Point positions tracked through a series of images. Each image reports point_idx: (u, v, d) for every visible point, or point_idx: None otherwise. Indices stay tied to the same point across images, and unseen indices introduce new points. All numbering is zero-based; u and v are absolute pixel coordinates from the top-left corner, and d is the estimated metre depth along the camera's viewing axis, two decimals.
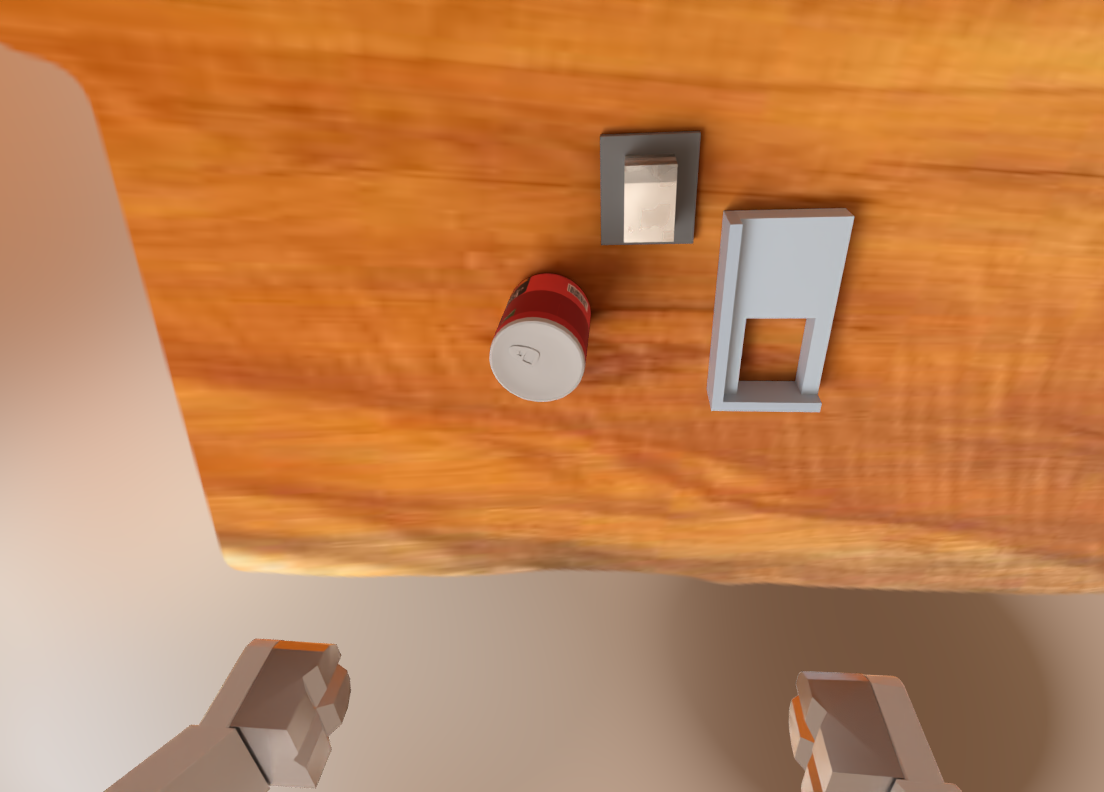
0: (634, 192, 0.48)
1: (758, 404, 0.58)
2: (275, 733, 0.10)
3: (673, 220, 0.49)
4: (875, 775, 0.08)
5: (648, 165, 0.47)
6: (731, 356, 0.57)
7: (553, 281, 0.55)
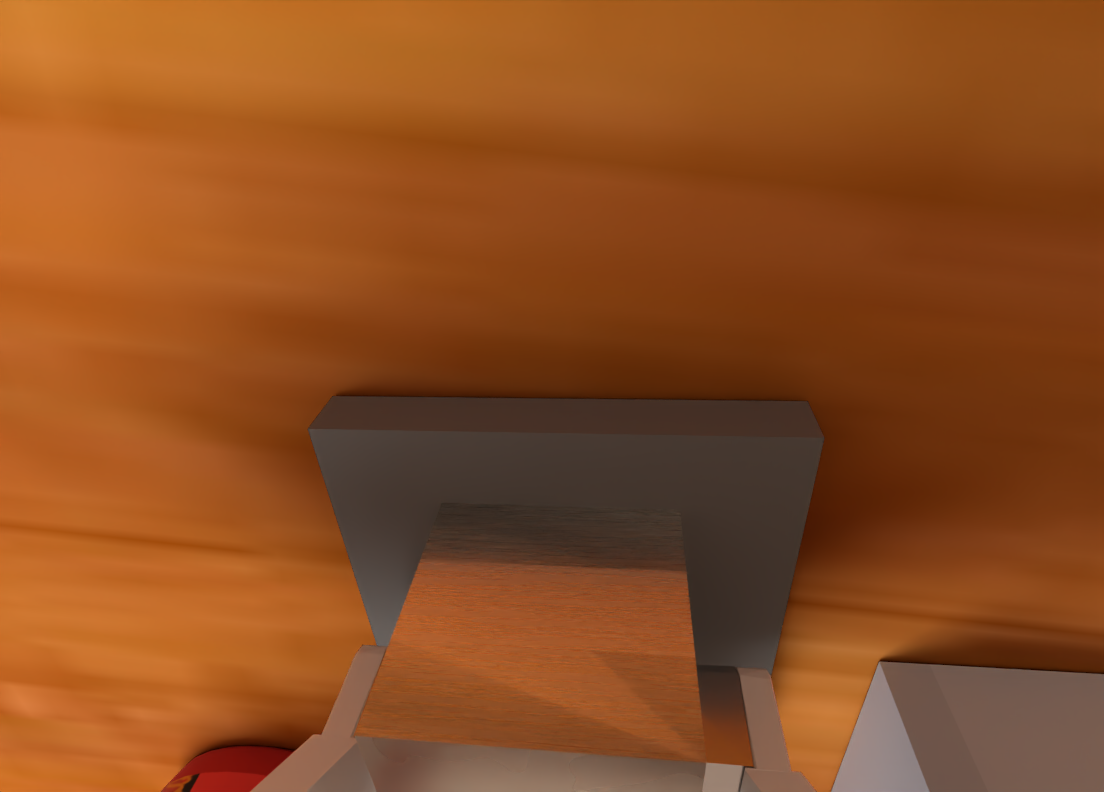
0: None
1: None
2: None
3: None
4: (725, 763, 0.09)
5: (509, 742, 0.07)
6: None
7: None
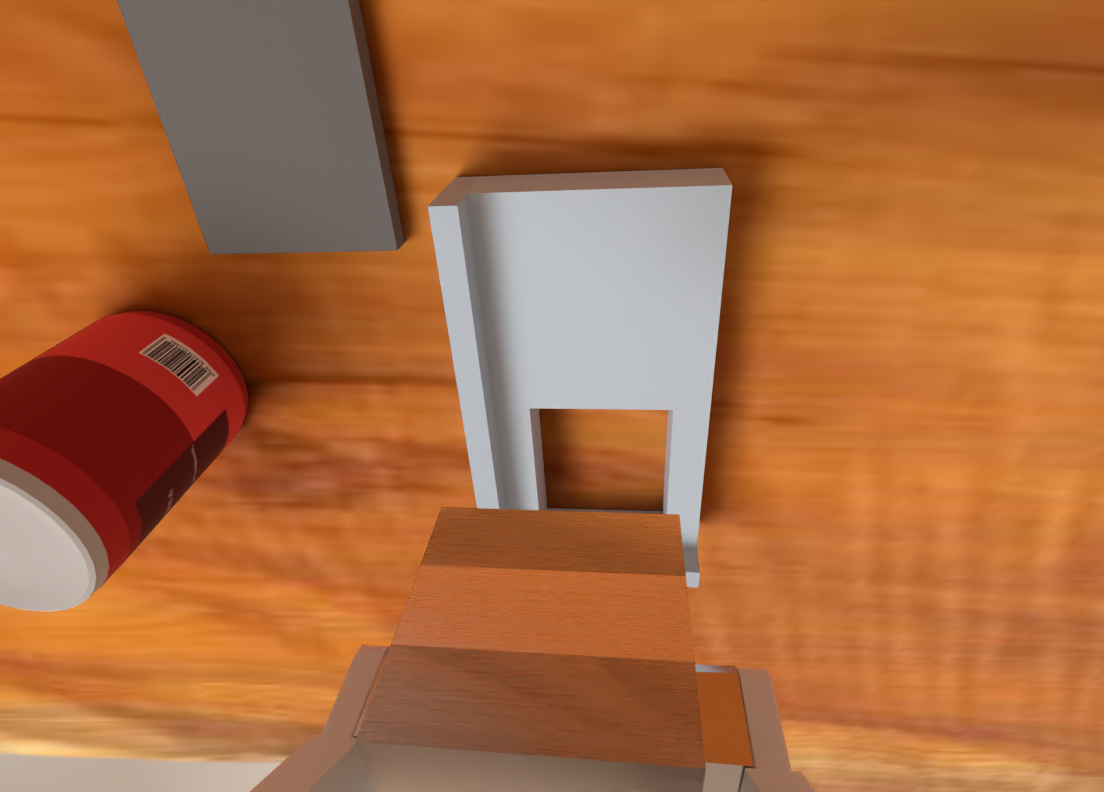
0: None
1: None
2: None
3: None
4: (725, 764, 0.09)
5: (509, 748, 0.07)
6: (515, 478, 0.28)
7: (120, 331, 0.26)
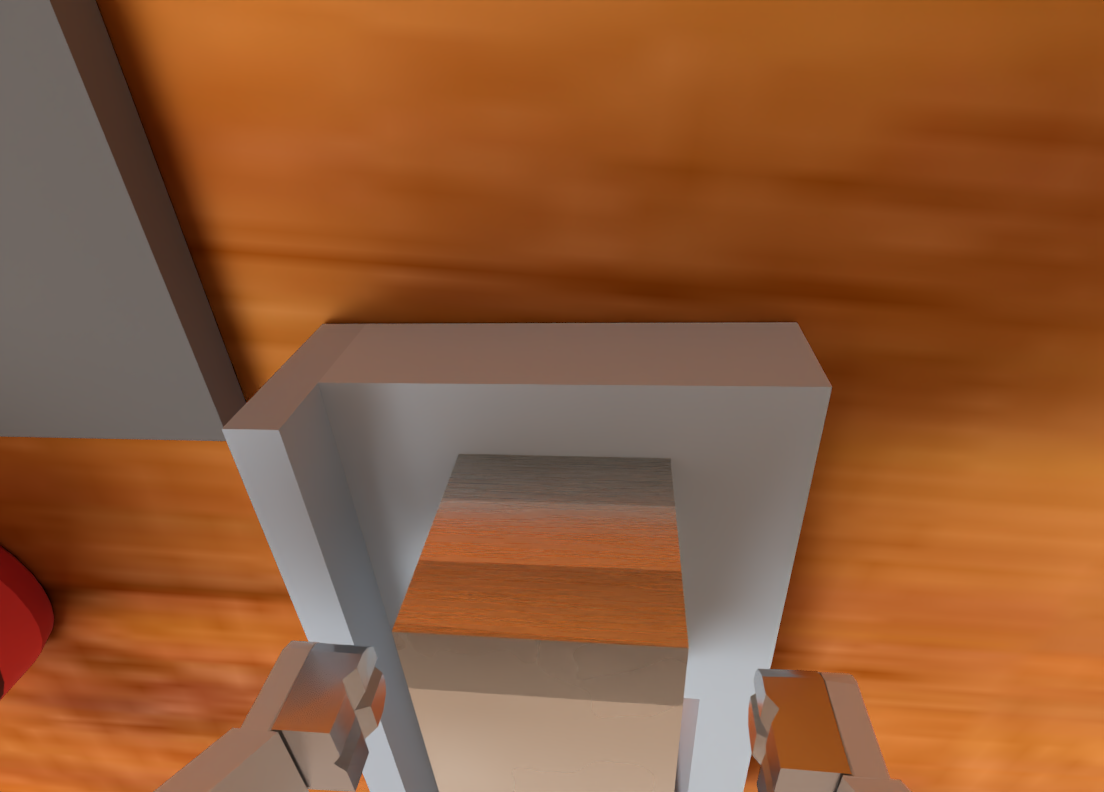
0: (466, 719, 0.09)
1: None
2: (318, 736, 0.09)
3: None
4: (822, 771, 0.08)
5: (523, 635, 0.08)
6: None
7: None
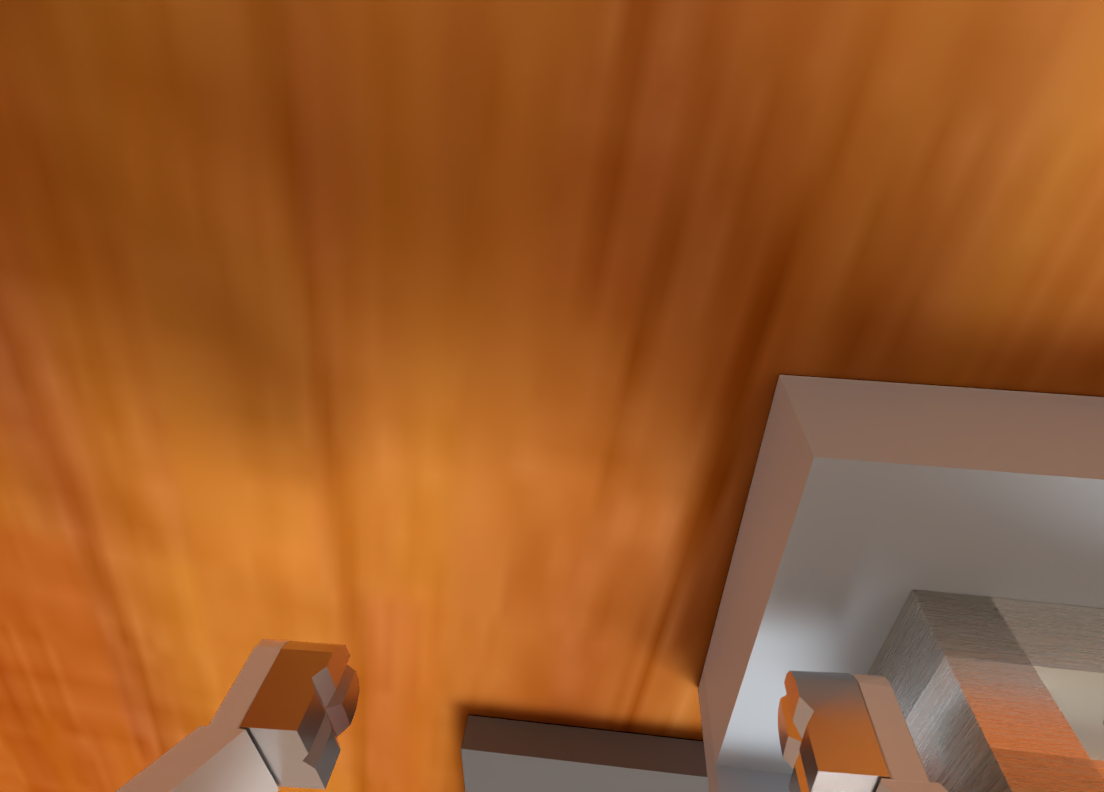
0: None
1: None
2: (285, 734, 0.10)
3: None
4: (860, 774, 0.08)
5: None
6: None
7: None
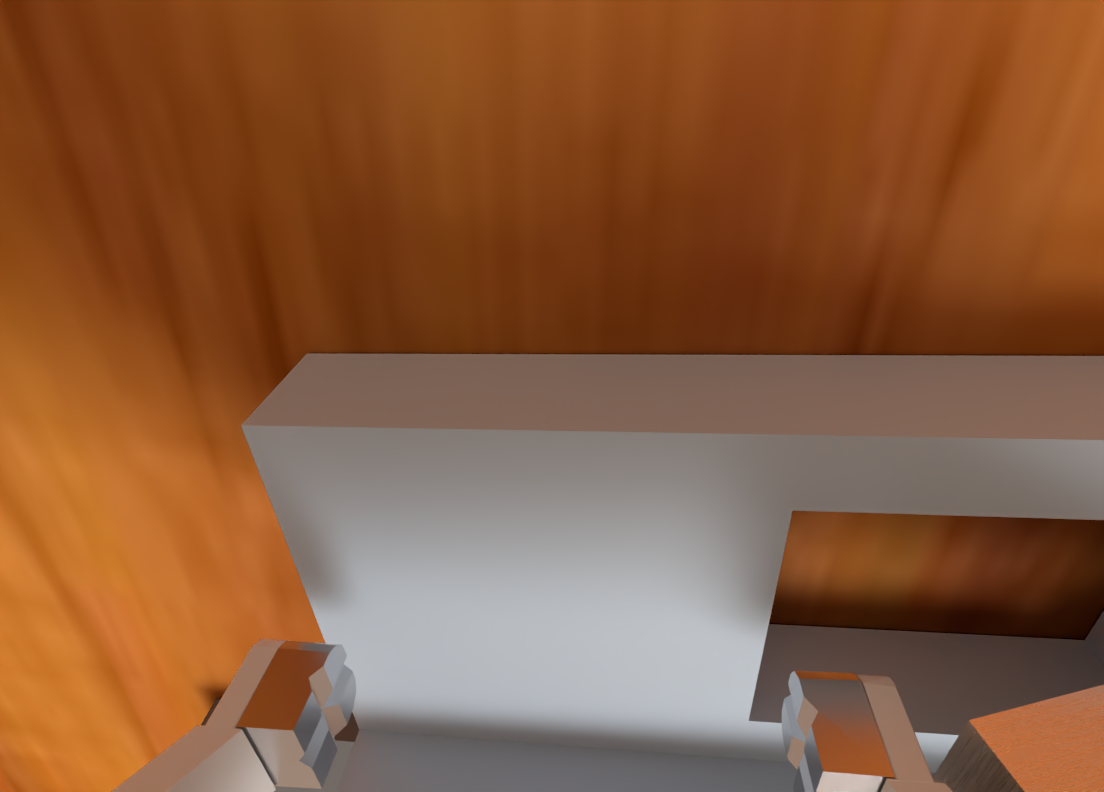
0: None
1: None
2: (282, 734, 0.10)
3: None
4: (865, 774, 0.08)
5: None
6: (929, 758, 0.13)
7: None
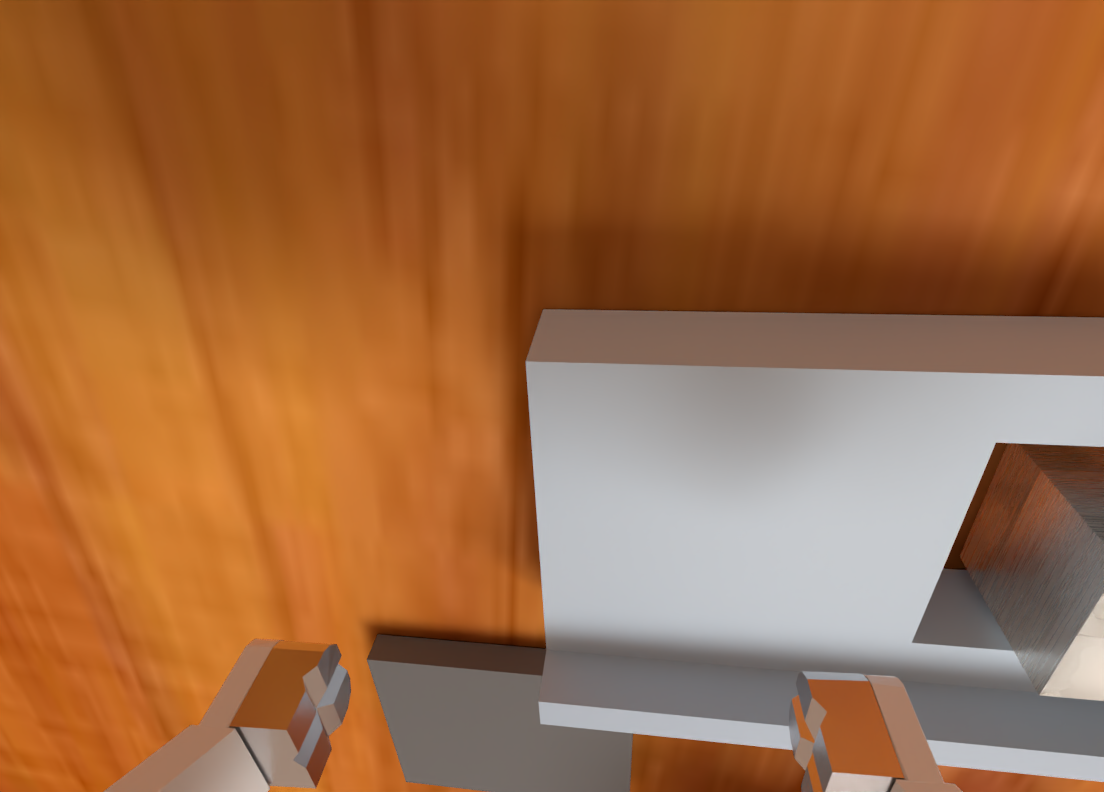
0: None
1: None
2: (275, 733, 0.10)
3: None
4: (875, 775, 0.08)
5: (1072, 638, 0.12)
6: None
7: None
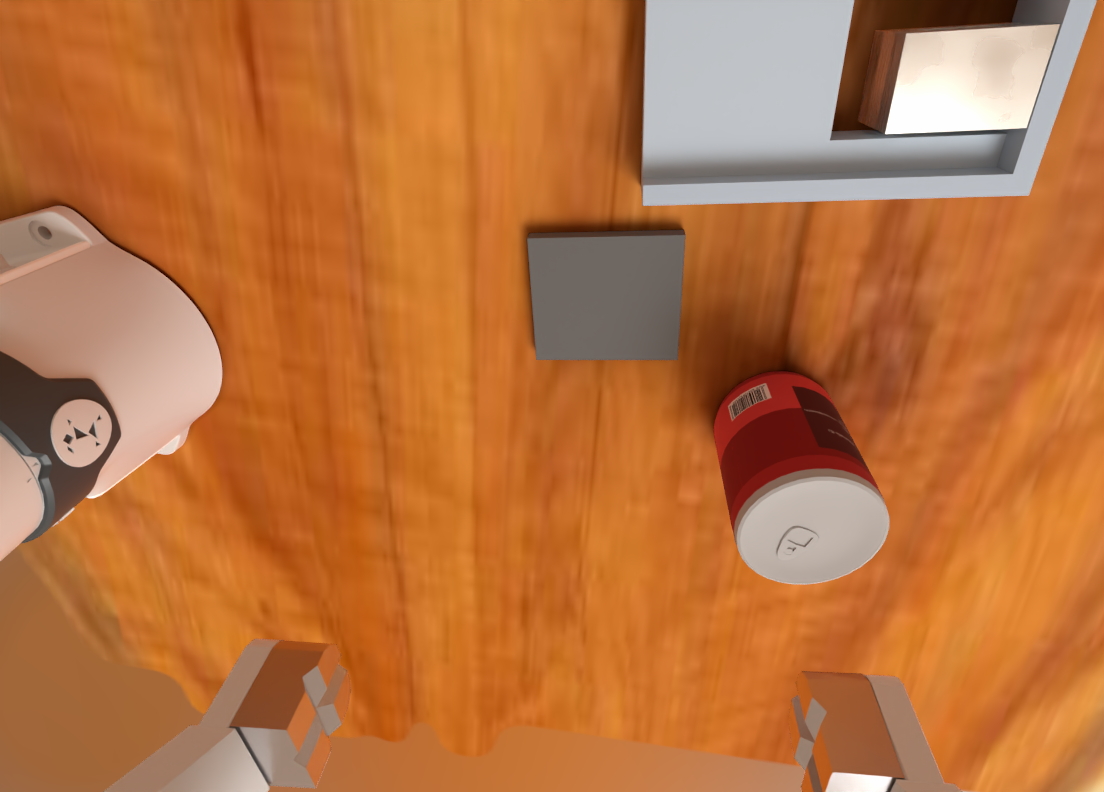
0: (936, 113, 0.28)
1: (1044, 96, 0.27)
2: (275, 733, 0.10)
3: (1014, 29, 0.26)
4: (875, 775, 0.08)
5: (894, 90, 0.27)
6: (909, 158, 0.30)
7: (719, 429, 0.40)
